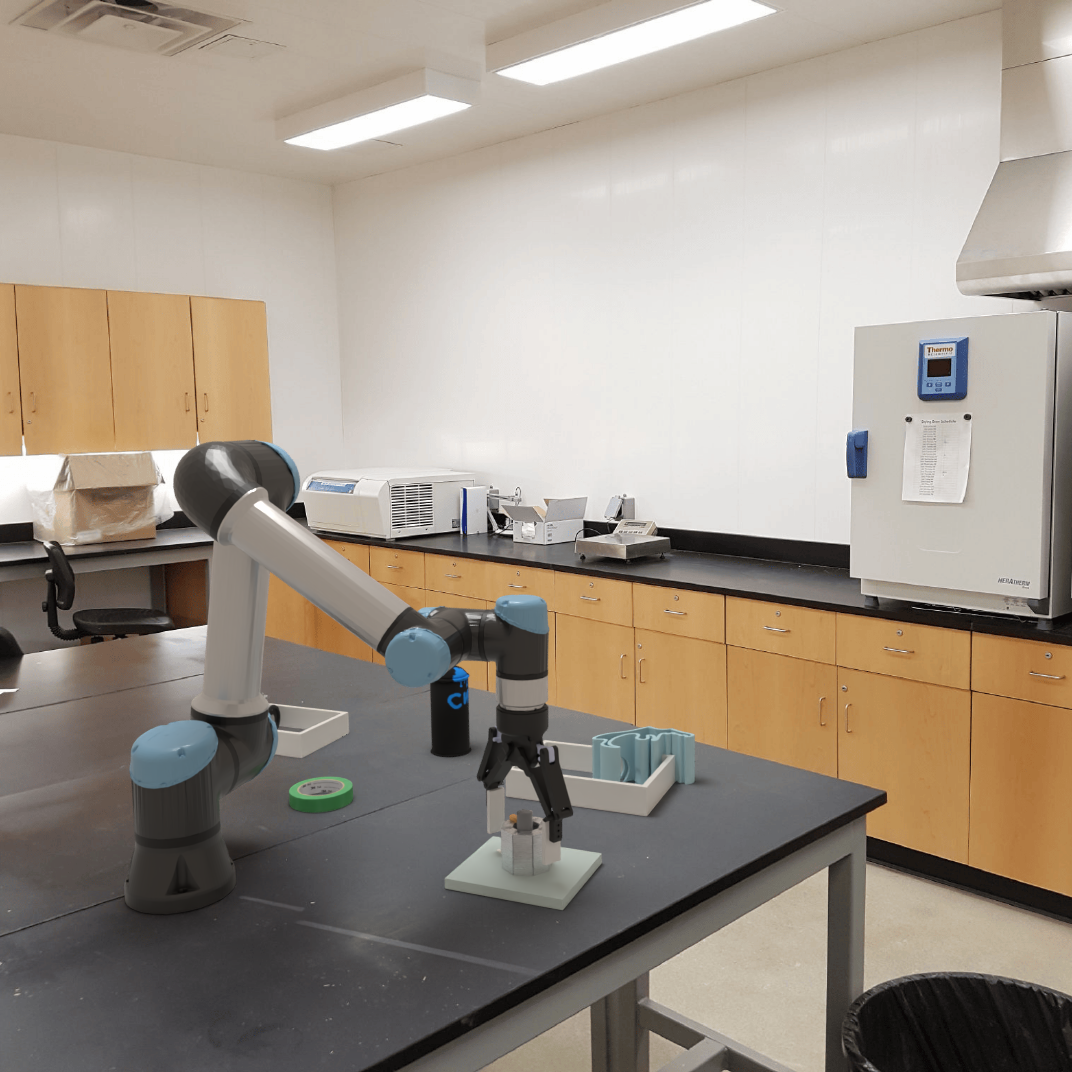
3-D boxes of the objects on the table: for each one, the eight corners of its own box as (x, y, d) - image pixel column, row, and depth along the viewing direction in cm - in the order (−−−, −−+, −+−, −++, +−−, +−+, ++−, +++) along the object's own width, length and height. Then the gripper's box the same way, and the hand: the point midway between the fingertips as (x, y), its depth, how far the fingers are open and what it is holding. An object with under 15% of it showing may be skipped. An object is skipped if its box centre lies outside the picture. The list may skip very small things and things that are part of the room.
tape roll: (290, 816, 171) (289, 801, 171) (288, 794, 182) (287, 780, 182) (356, 809, 174) (355, 794, 174) (350, 787, 185) (349, 773, 185)
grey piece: (560, 866, 146) (560, 823, 145) (521, 880, 142) (520, 835, 141) (531, 851, 151) (530, 808, 151) (493, 863, 147) (492, 820, 147)
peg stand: (562, 910, 136) (561, 842, 135) (444, 888, 143) (443, 823, 142) (601, 863, 150) (601, 801, 149) (493, 845, 157) (492, 786, 156)
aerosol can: (422, 754, 202) (419, 657, 200) (444, 743, 210) (442, 649, 207) (457, 760, 198) (454, 661, 196) (478, 748, 206) (476, 652, 204)
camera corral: (301, 758, 201) (300, 734, 200) (206, 745, 210) (205, 722, 210) (349, 734, 216) (348, 712, 216) (258, 723, 226) (257, 702, 225)
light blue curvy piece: (664, 769, 193) (664, 722, 192) (697, 785, 184) (697, 735, 183) (585, 787, 184) (584, 737, 183) (615, 803, 175) (614, 752, 174)
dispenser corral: (646, 816, 168) (646, 787, 168) (505, 796, 178) (505, 769, 178) (675, 781, 185) (675, 755, 184) (544, 765, 195) (544, 740, 194)
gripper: (598, 718, 136) (598, 868, 139) (494, 682, 156) (495, 813, 158) (555, 728, 132) (555, 883, 134) (453, 689, 152) (454, 825, 154)
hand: (522, 846), depth 146 cm, fingers open, 13 cm apart
